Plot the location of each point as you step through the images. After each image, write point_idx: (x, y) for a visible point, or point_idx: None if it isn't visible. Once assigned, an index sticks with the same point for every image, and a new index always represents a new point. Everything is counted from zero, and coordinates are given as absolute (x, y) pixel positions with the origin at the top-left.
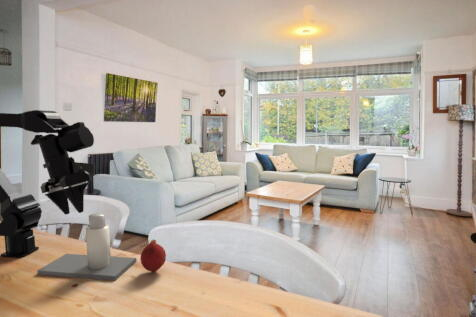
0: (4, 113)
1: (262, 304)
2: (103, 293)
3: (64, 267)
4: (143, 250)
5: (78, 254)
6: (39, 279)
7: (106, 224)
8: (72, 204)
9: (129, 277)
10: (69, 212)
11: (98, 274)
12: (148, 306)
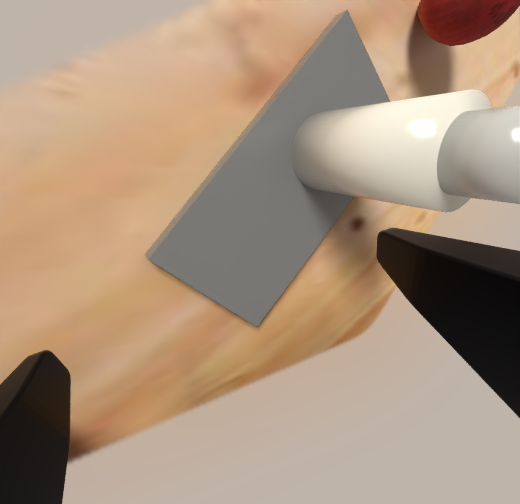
0: None
1: None
2: None
3: (279, 255)
4: (494, 18)
5: (187, 211)
6: (282, 308)
7: (463, 97)
8: (450, 340)
9: (401, 91)
10: (46, 354)
11: None
12: None
